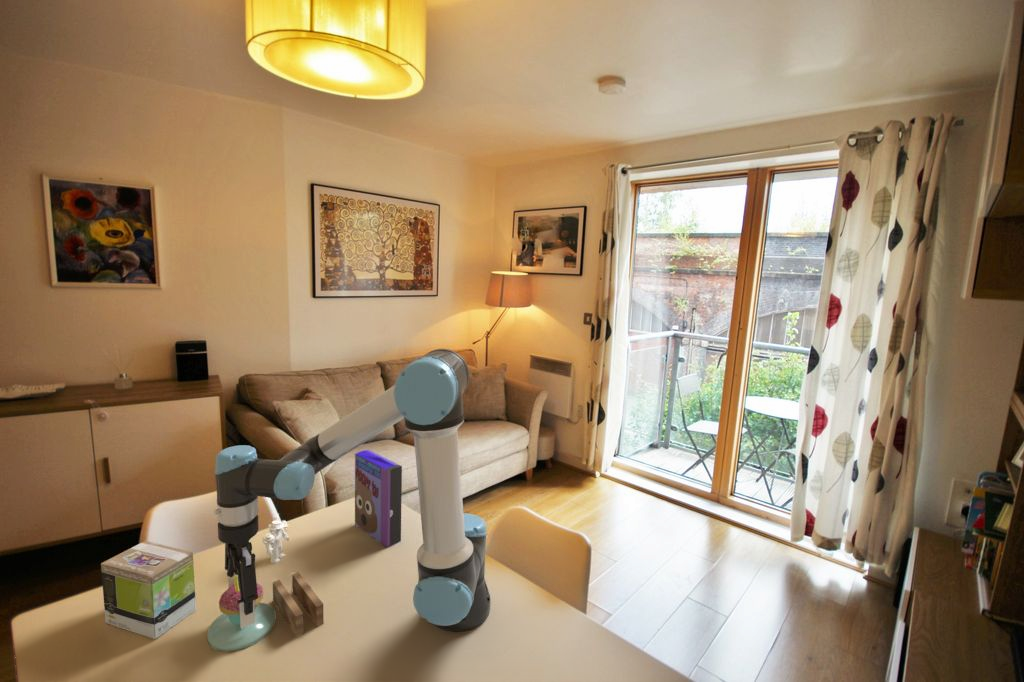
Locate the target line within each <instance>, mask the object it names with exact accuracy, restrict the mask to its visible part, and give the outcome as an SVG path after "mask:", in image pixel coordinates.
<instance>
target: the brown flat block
mask: <svg viewBox="0 0 1024 682" xmlns="http://www.w3.org/2000/svg"><path fill="white" fill-rule="evenodd" d="M291 580H292V581H291V582H292V586H291V587H292V588H291V589H292V594H293V595H294V596H295V598H296V600H297V601H298V602H299V604H300V605H301V606H302V608H303V609H304V611H305V612H306V614H307V615H308V617H309V618H310V619H311V621H312V622H313V623H314V625H315V626H316V627H317V628H318V627H319V626H322V625H323V624H324V602H323V601H322V600H321V598H319V596H318V595H317V594H316V592H315V591H314V590H313V588H312V587H311V586H310V584H309V583H308V582H307V581H306V580H305V578H304V576H303V575H301V573H300V572H299V571H297V572H295V573H292V574H291Z"/></svg>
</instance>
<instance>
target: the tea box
mask: <svg viewBox="0 0 1024 682" xmlns="http://www.w3.org/2000/svg"><path fill="white" fill-rule="evenodd" d="M100 571H101V572H100V573H101V582H102V594H103V605H104V618H105V623H106V624H108V625H112V626H114V627H117V628H119V629H122V630H123V629H124V630H127V631H130V632H132V633H135V634H138V635H140V636H141V635H142V636H145V637H147V638H150V639H154V640H156V639H158V638H159V637H161V636H162V635H163V634H165V633H166V632H167V631H168V632H169V630H170V629H171V627H172V628H173V627H175V626H176V625H177V624H179V623H180V622H182V621H183V620H184V619H185V618H187V617H189V616H190V615H191V614H192V613H193V612H195V611H196V607H197V606H196V604H197V603H196V600H197V599H196V586H195V585H196V584H195V583H196V582H195V567H194V553H193V552H192V551H189V550H187V549H181V548H177V547H173V546H169V545H165V544H161V543H157V542H153V541H148V540H144V541H142V542H140V543H138V544H136V545H134V546H132V547H131V548H128V549H127V550H124V551H123V552H121V553H118V554H117V555H114V556H113V557H111V558H109V559H107V560H104V561H103V562H101V563H100Z"/></svg>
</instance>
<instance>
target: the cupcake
mask: <svg viewBox="0 0 1024 682" xmlns="http://www.w3.org/2000/svg"><path fill="white" fill-rule="evenodd" d="M233 578H234V584H235V585H233V586H231V587H229V588H227V589H226V590H224V592H222V594H221V595H220V599H219V602H218V604H219V605H218V608H219V610H220V612H221V614H223V613H224V614H226V615H227V616H228V617H229V620H230V622H232V623H234V624H240V607H239V604H238V603H237V600H239V599H241V596H240V589H239V583H238V580H237V575H236V574H235V573H234V575H233ZM263 589H264V588H263V586H262V585H261V584H260V583H257V593H258V599H256V600H255V610H256V607H257V605H258V604H259V602H260V603H261V601H262V600H263V599H264V590H263Z"/></svg>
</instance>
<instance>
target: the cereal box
mask: <svg viewBox="0 0 1024 682" xmlns="http://www.w3.org/2000/svg"><path fill="white" fill-rule="evenodd" d="M402 481H403V466H402V465H400V464H399V463H396V462H395V461H392V460H390V459H389V458H387V457H384V456H382V455H380V454H378V453H376V452H374V451H372V450H370V449H365V450H361V451H359V452H356V453H354V526H355V527H357V528H358V529H360V530H361V531H363V533H366V534H367V535H368V536H370V537H371V538H372V539H374V540H375V541H377V542H378V543H379V544H381V545H383V546H384V547H385V548H387V549H388V548H390V547H392V546H394V545H396V544H398V543H401V541H402V497H403V496H402V492H403V491H402V489H403V487H402V484H403V482H402Z"/></svg>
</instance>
